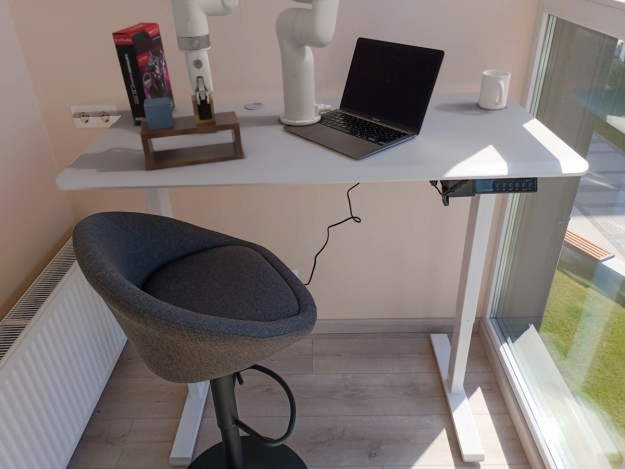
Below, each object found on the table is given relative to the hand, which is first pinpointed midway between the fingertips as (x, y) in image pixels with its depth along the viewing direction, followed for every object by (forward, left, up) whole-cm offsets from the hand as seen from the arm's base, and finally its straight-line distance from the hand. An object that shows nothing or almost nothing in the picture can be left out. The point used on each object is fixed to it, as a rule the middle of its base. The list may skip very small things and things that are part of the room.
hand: (204, 113), depth 128 cm
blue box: (+11, 0, -2) cm, 11 cm away
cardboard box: (0, 0, -2) cm, 2 cm away
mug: (-89, -10, -11) cm, 90 cm away
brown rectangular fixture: (+4, 0, -11) cm, 12 cm away
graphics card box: (+15, -38, -11) cm, 42 cm away
